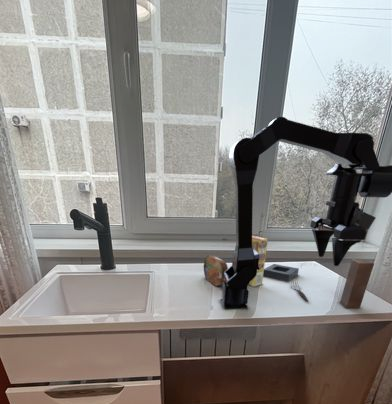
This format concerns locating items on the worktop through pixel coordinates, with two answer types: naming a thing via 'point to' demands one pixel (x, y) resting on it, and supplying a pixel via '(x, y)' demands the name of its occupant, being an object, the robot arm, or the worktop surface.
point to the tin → (215, 270)
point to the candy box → (260, 247)
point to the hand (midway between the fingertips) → (328, 261)
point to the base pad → (280, 272)
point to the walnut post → (356, 283)
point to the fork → (298, 289)
